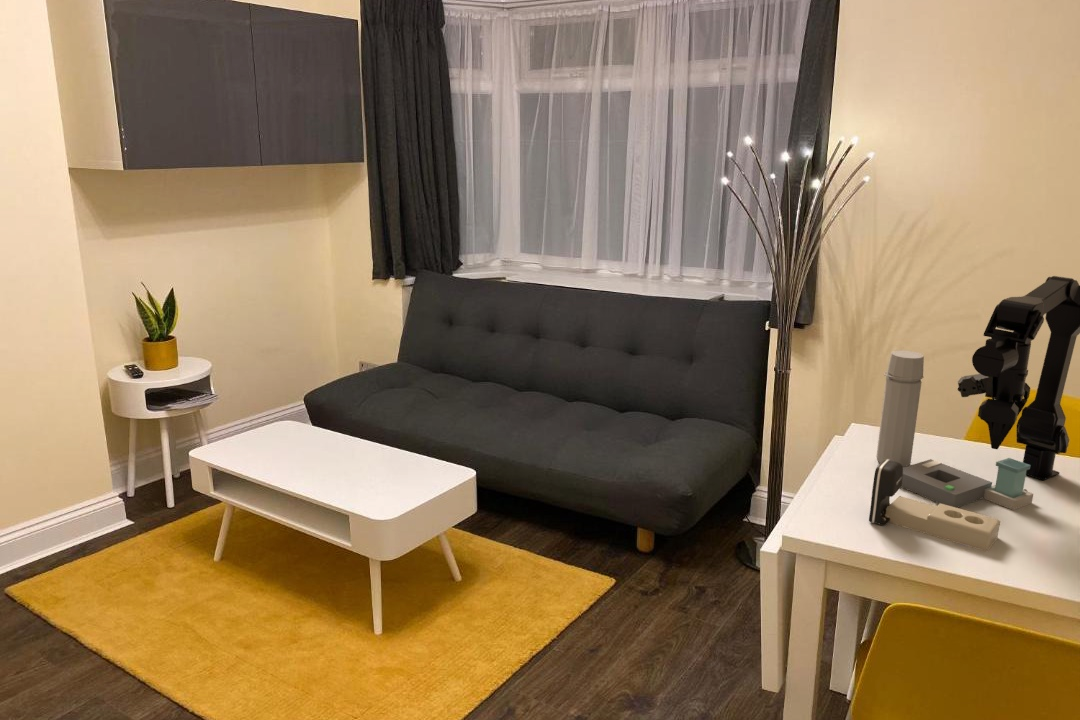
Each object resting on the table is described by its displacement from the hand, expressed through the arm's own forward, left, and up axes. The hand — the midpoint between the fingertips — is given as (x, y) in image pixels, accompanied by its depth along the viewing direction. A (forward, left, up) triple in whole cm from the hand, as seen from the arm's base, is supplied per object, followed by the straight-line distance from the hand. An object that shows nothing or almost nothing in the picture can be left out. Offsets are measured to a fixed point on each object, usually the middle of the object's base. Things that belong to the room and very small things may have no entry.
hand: (998, 441), depth 170 cm
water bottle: (0, -23, -13) cm, 26 cm away
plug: (-3, +2, -13) cm, 13 cm away
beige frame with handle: (-4, +2, -13) cm, 14 cm away
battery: (+26, -5, -13) cm, 29 cm away
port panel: (+4, -8, -13) cm, 15 cm away
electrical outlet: (+20, +3, -13) cm, 24 cm away
